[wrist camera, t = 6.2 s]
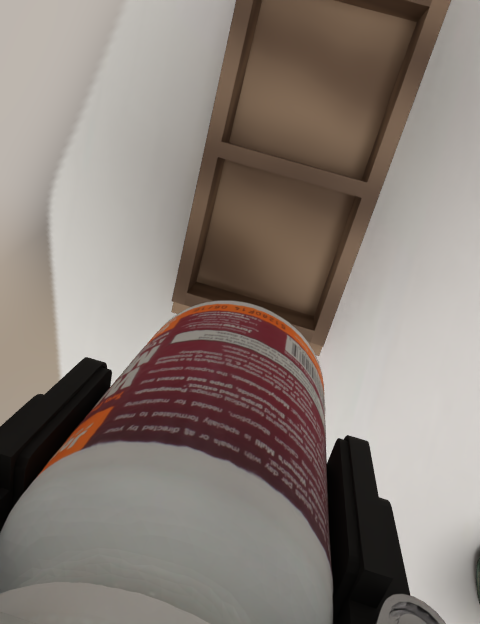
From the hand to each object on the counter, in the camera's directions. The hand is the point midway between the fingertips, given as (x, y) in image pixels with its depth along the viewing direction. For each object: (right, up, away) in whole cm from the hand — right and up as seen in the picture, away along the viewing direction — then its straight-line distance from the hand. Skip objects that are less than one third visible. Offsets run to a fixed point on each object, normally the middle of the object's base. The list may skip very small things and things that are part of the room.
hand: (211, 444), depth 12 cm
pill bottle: (+1, +1, +4) cm, 4 cm away
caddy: (+4, +12, +15) cm, 20 cm away
